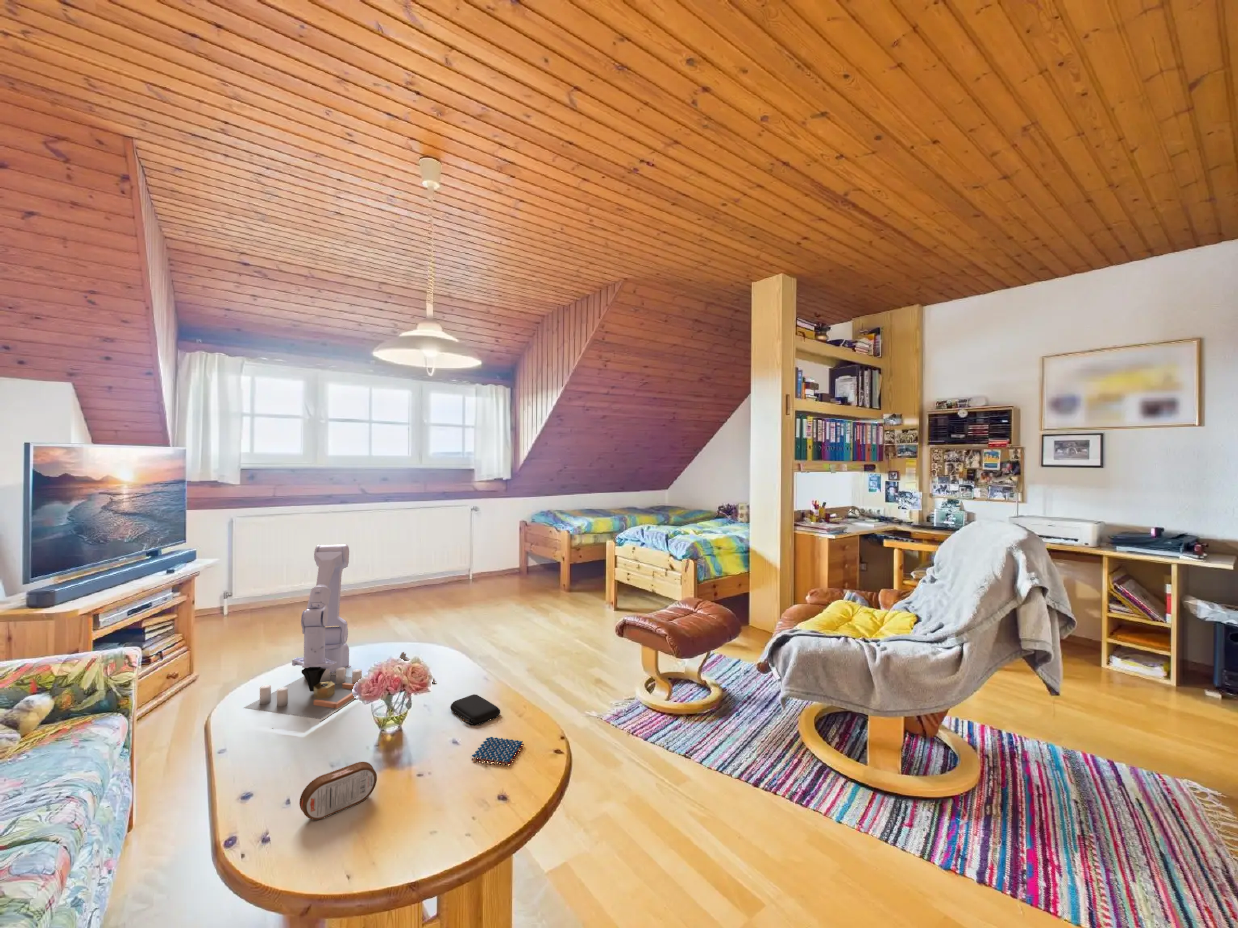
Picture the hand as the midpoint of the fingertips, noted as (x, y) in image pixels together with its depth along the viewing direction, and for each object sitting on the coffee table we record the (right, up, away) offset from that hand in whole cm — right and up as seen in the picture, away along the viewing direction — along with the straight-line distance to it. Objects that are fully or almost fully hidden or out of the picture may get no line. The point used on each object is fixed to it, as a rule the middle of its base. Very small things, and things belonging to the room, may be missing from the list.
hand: (314, 689), depth 167 cm
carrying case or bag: (+52, -4, -8) cm, 53 cm away
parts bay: (+9, -1, -2) cm, 10 cm away
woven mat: (+64, -5, -29) cm, 70 cm away
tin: (+35, -4, -51) cm, 62 cm away
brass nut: (+4, -1, -1) cm, 4 cm away
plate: (+1, -2, 0) cm, 2 cm away
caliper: (+26, -3, +17) cm, 31 cm away
